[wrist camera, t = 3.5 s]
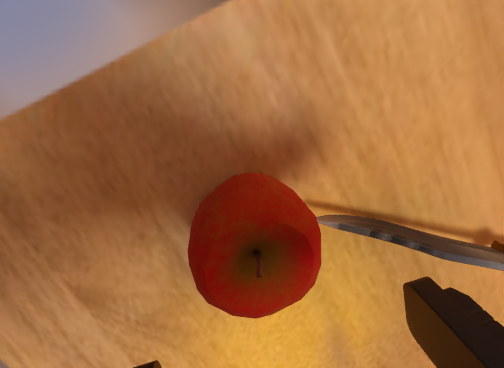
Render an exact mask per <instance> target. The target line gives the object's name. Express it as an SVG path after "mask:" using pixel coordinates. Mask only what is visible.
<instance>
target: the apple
mask: <svg viewBox="0 0 504 368" xmlns="http://www.w3.org/2000/svg"><path fill="white" fill-rule="evenodd" d="M188 259H189V266H190V269H191V272H192V275H193V278H194V281H195V284H196V287H197V289H198V291H199V292H200V294H201V295H202V296H203V297H204V299H205V300H206V301H207V302H208V303H209V304H211V305H213V306H215V307H217V308H219V309H221V310H223V311H225V312H227V313H229V314H230V315H232V316H239V317H247V318H260V317H264V316H268V315H271V314H274V313H276V312H278V311H280V310H282V309H284V308H285V307H287V306H289V305H291V304H293V303H295V302H297V301H299V300H301V299H302V298H303V297H304V296H305V294H306V293H307V292H308V291H309V290H310V289H311V288H312V287H313V285H314V284H315V281H316V278H317V275H318V272H319V269H320V266H321V233H320V228H319V225H318V222H317V220H316V217H315V215H314V214H313V213H312V211H311V210H310V209H309V208H308V207H307V206H306V204H305V203H304V202H303V201H302V200H301V199H300V197H299V196H298V195H297V194H296V193H295V191H294V190H292V189H291V188H289V187H288V186H286V185H285V184H283V183H281V182H280V181H278V180H277V179H275V178H273V177H270V176H267V175H264V174H261V173H244V174H240V175H235V176H233V177H232V178H230V179H229V180H227V181H226V182H224V183H223V184H221V185H220V186H219V187H217V188H216V189H215V190H214V191H213V192H212V193H211V194H210V195H209V196H207V197H206V198H205V199H204V200H203V202H202V203H201V204H200V206H199V208H198V209H197V211H196V213H195V216H194V218H193V221H192V224H191V232H190V239H189V246H188Z"/></svg>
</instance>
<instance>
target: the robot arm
mask: <svg viewBox="0 0 504 368" xmlns="http://www.w3.org/2000/svg"><path fill="white" fill-rule="evenodd" d="M403 291H404V300H405V310H406V319H407V324H408V327H409V329H410V331H411V333H412V335H413V337H414V339H415V340H416V341H417V343H418V344H419V345H420V347H421V348H422V349H423V350H424V352H425V353H426V354H427V356H428V357H429V358H430V360H431V361H432V362H433V363H434V365H435V366H436V367H437V368H504V327H503V326H502V325H501V324H500V323H498V322H497V321H495V320H494V319H493V317H492V316H491V315H489V314H488V313H487V312H486V311H485V310H484V311H483V309H482V307H480V306H479V305H478V304H477V303H476V302H475V301H474V300H473V299H471V298H470V297H469V296H468V295H466V294H464V293H461V292H459V291H457V290H455V289H453V288H451V287H450V288H447V289H444V290H443V289H442V288H441V287H440V286H438V285H437V284H436V283H435V282H434V281H433V280H432V279H431V278H430V277H423V278H420V279H417V280H414V281H410V282H407V283H405V284H404V285H403ZM133 368H162V367H161V365H160V363H159V362H158V361H157V360H156V361H153V362H149V363H146V364H143V365H140V366H137V367H133Z"/></svg>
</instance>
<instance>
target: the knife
mask: <svg viewBox="0 0 504 368" xmlns="http://www.w3.org/2000/svg"><path fill="white" fill-rule="evenodd" d="M316 220H317V222H318V223H320V224H323V225H326V226H330V227H333V228H336V229H339V230H343V231H348V232H352V233H356V234H360V235H365V236H369V237H373V238H376V239H380V240H384V241H388V242H391V243H395V244H398V245H402V246H405V247H408V248H411V249H414V250H417V251H420V252H423V253H426V254H429V255H432V256H435V257H438V258H441V259H445V260H450V261H455V262H460V263H465V264H471V265H476V266H481V267H486V268H492V269H497V270H502V271H504V243H501V242H498V241H494V242H493V244H492V246H491V247H487V246H482V245H477V244H472V243H467V242H463V241H458V240H454V239H449V238H445V237H441V236H437V235H433V234H429V233H426V232H422V231H418V230H415V229H411V228H408V227H405V226H401V225H398V224H394V223H390V222H387V221H383V220H378V219H374V218H368V217H362V216H353V215H325V216H319V217H316Z"/></svg>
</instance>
